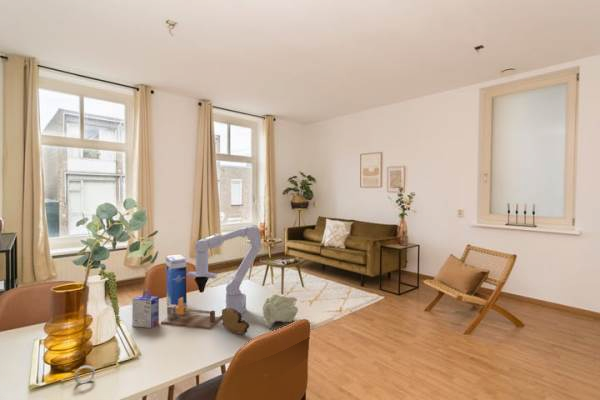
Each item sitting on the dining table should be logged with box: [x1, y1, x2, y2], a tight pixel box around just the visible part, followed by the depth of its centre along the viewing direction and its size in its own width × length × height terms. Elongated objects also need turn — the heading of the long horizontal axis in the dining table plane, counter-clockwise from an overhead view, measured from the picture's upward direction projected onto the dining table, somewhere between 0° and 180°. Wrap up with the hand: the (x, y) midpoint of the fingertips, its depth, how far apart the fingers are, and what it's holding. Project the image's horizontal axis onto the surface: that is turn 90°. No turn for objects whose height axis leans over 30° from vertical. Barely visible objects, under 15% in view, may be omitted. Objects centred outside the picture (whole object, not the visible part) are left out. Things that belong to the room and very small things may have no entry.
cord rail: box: [160, 304, 221, 330], centre depth 138 cm, size 24×10×6 cm, turn 79°
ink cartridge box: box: [131, 290, 160, 329], centre depth 134 cm, size 10×6×14 cm, turn 78°
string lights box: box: [165, 253, 188, 307], centre depth 155 cm, size 13×8×26 cm, turn 34°
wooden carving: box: [218, 307, 250, 336], centre depth 128 cm, size 16×5×10 cm, turn 59°
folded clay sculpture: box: [262, 294, 299, 329], centre depth 137 cm, size 18×13×16 cm
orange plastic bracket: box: [175, 297, 188, 314], centre depth 139 cm, size 4×3×7 cm
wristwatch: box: [74, 365, 96, 385], centre depth 95 cm, size 3×5×5 cm, turn 115°
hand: (201, 291), depth 147 cm, fingers closed
